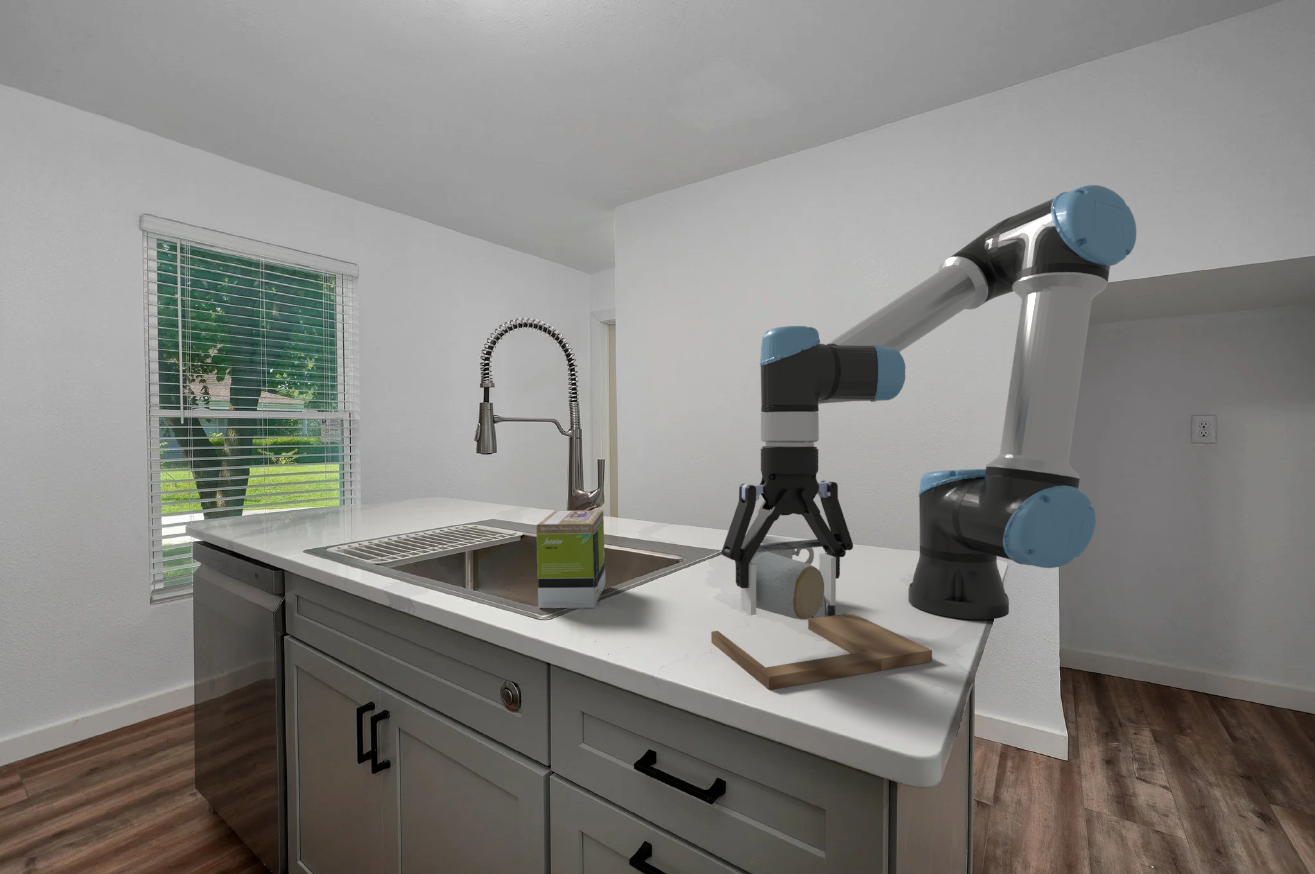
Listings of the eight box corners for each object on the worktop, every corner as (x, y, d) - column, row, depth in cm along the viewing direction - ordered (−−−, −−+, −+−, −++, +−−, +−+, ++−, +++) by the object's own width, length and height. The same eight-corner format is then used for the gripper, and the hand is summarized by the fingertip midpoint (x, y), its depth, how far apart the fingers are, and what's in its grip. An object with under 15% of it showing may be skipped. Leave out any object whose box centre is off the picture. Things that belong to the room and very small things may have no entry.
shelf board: (852, 622, 91) (852, 613, 91) (931, 661, 76) (932, 650, 76) (711, 642, 83) (711, 631, 83) (768, 689, 68) (768, 676, 68)
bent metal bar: (833, 616, 94) (833, 530, 94) (849, 624, 90) (849, 534, 90) (738, 629, 88) (738, 537, 88) (751, 637, 85) (751, 542, 84)
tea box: (554, 585, 113) (554, 509, 113) (606, 585, 113) (605, 509, 113) (536, 609, 98) (535, 521, 98) (595, 609, 98) (595, 521, 98)
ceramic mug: (797, 628, 72) (798, 565, 72) (743, 613, 78) (744, 555, 78) (839, 610, 80) (840, 554, 80) (787, 598, 85) (788, 545, 85)
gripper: (846, 442, 86) (845, 591, 86) (696, 444, 78) (696, 608, 78) (881, 444, 78) (880, 606, 79) (720, 446, 71) (720, 626, 71)
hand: (788, 607), depth 78 cm, fingers closed on ceramic mug, 11 cm apart
